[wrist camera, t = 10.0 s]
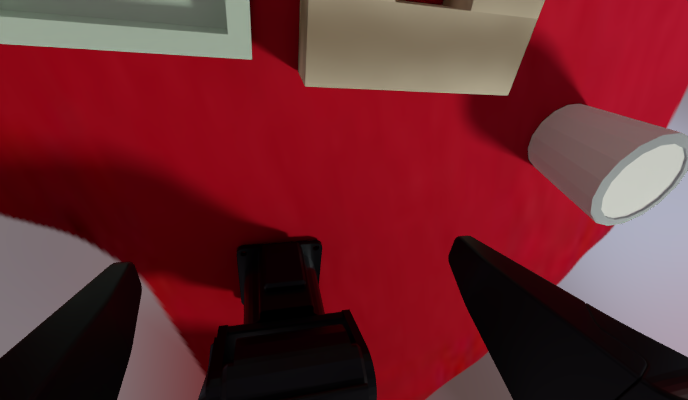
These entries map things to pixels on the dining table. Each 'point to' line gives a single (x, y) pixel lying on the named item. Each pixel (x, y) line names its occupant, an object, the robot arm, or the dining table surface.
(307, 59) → the hole block
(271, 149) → the dining table surface
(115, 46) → the tray
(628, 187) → the cup
